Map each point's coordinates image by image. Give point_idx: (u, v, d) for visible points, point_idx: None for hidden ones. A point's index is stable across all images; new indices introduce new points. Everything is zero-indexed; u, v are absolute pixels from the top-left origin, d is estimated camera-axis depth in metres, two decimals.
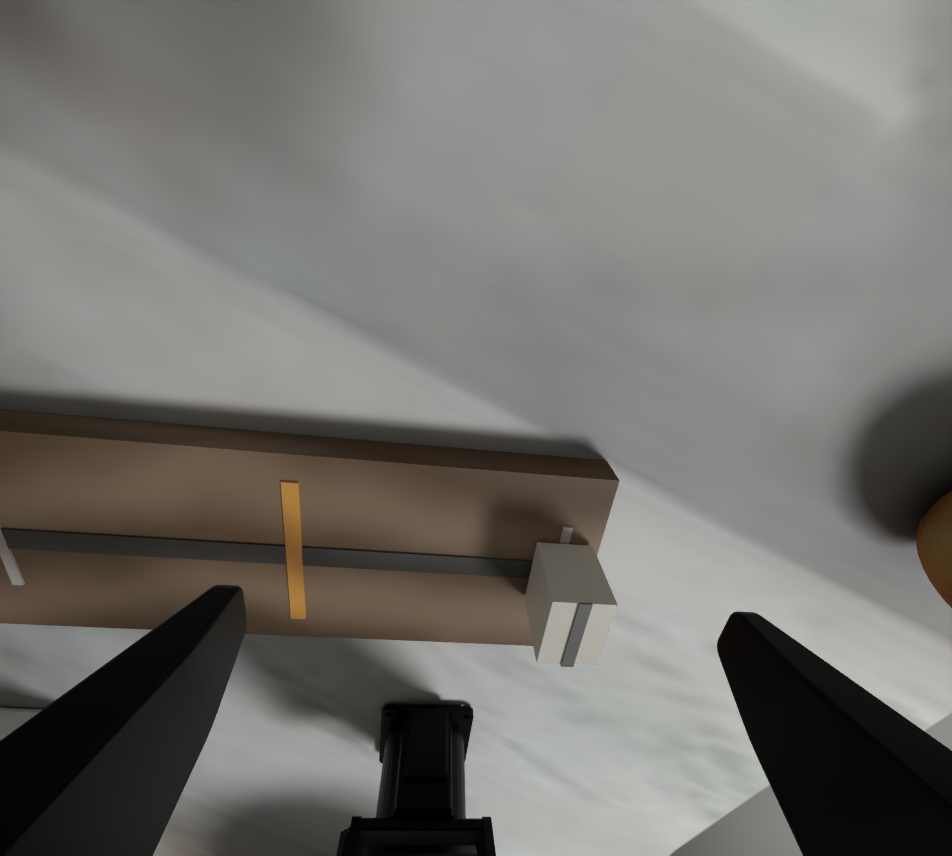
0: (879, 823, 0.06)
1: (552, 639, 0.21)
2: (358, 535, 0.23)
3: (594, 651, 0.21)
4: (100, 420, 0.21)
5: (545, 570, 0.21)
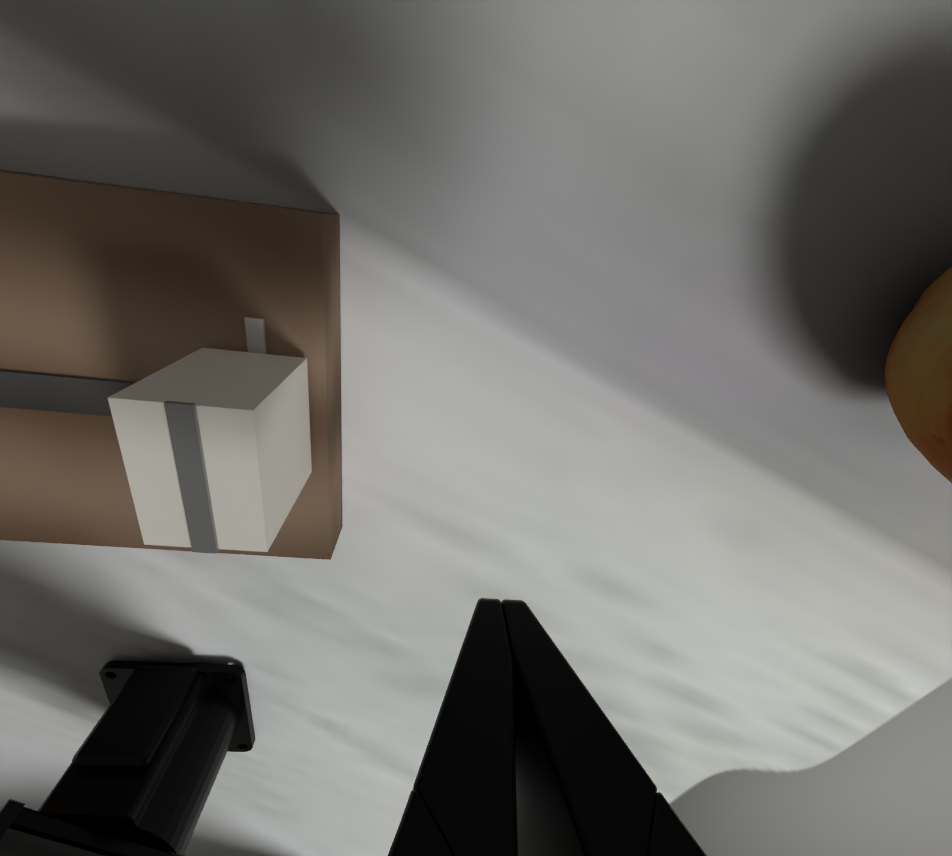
0: (543, 822, 0.05)
1: (151, 491, 0.11)
2: None
3: (250, 520, 0.11)
4: None
5: (163, 369, 0.11)
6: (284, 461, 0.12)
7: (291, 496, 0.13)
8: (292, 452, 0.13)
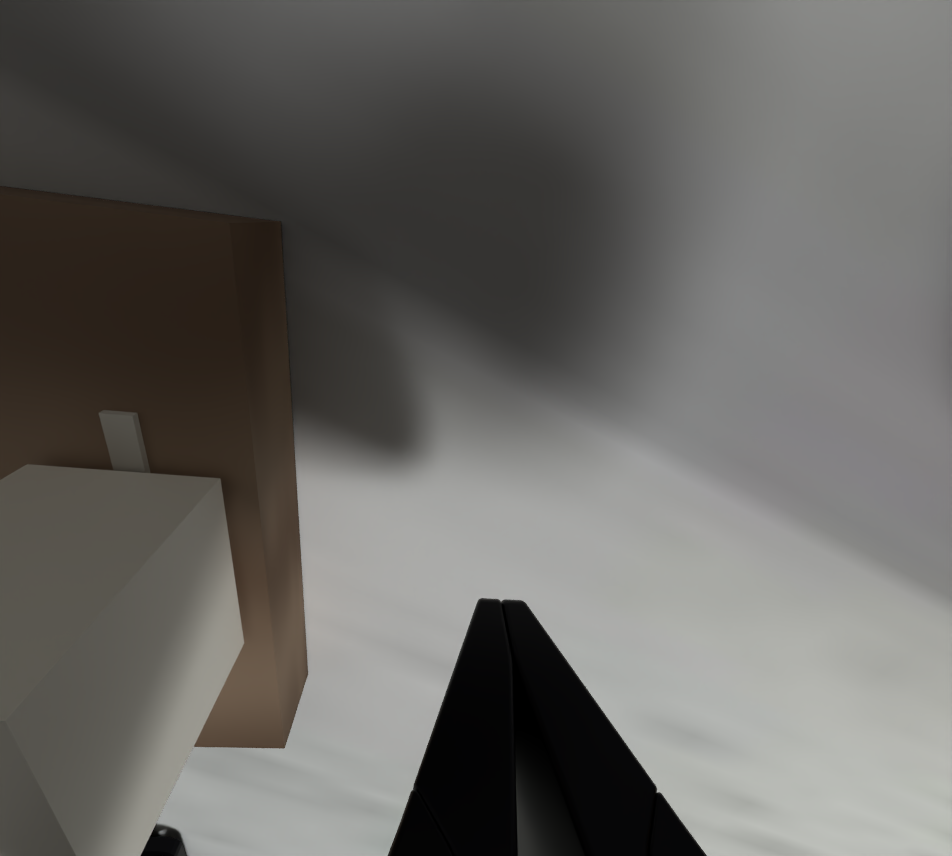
0: (542, 822, 0.05)
1: None
2: None
3: None
4: None
5: None
6: (160, 701, 0.06)
7: (187, 735, 0.07)
8: (186, 663, 0.07)
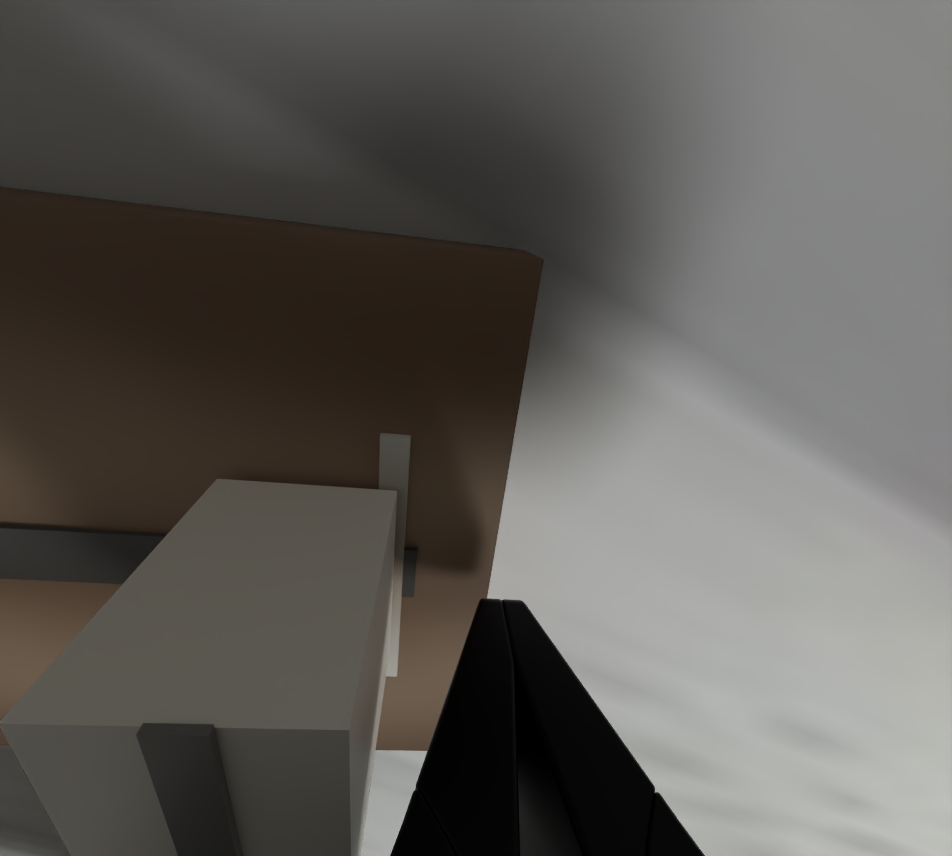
0: (541, 822, 0.05)
1: None
2: None
3: None
4: None
5: (144, 564, 0.06)
6: (373, 708, 0.07)
7: (375, 740, 0.07)
8: (379, 670, 0.07)
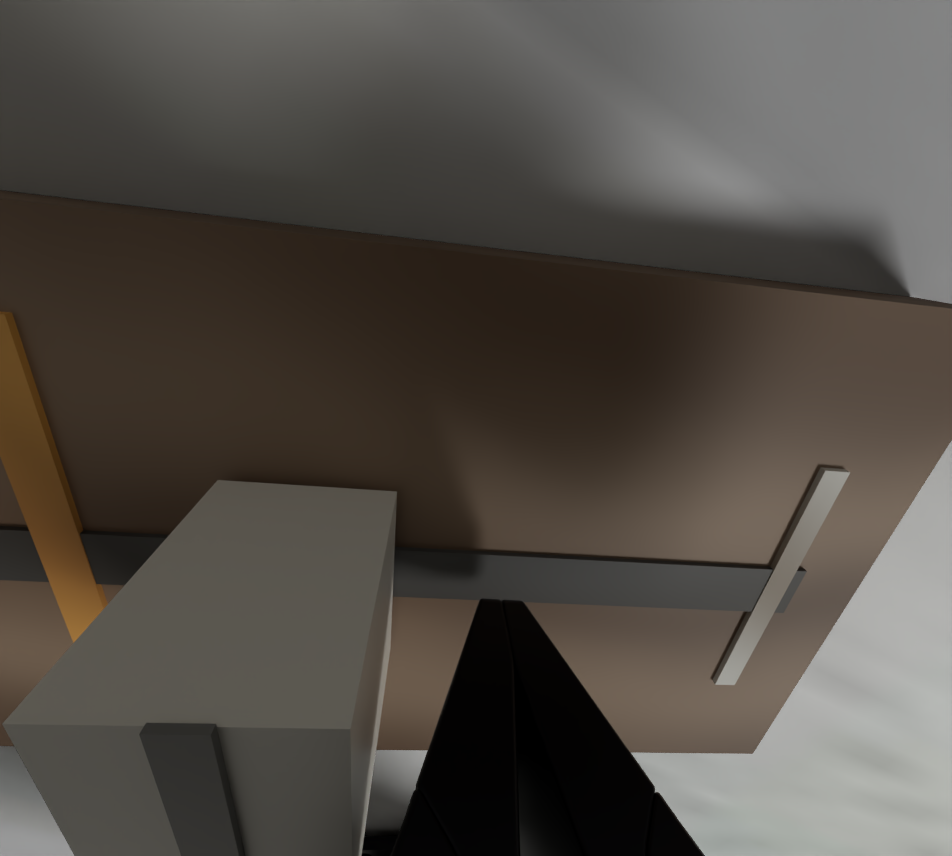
0: (541, 822, 0.05)
1: None
2: None
3: None
4: None
5: (145, 566, 0.06)
6: (374, 706, 0.07)
7: (376, 740, 0.07)
8: (380, 670, 0.07)
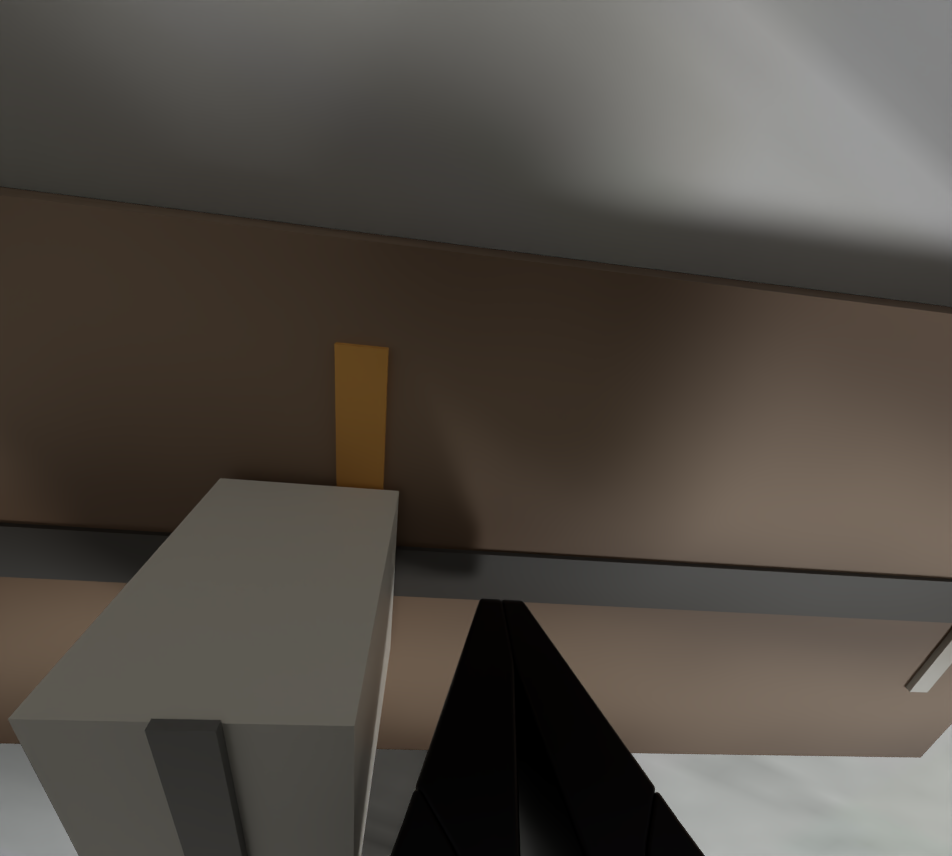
0: (541, 822, 0.05)
1: (121, 852, 0.05)
2: (534, 515, 0.08)
3: None
4: None
5: (149, 563, 0.06)
6: (375, 705, 0.07)
7: (375, 738, 0.07)
8: (381, 668, 0.07)
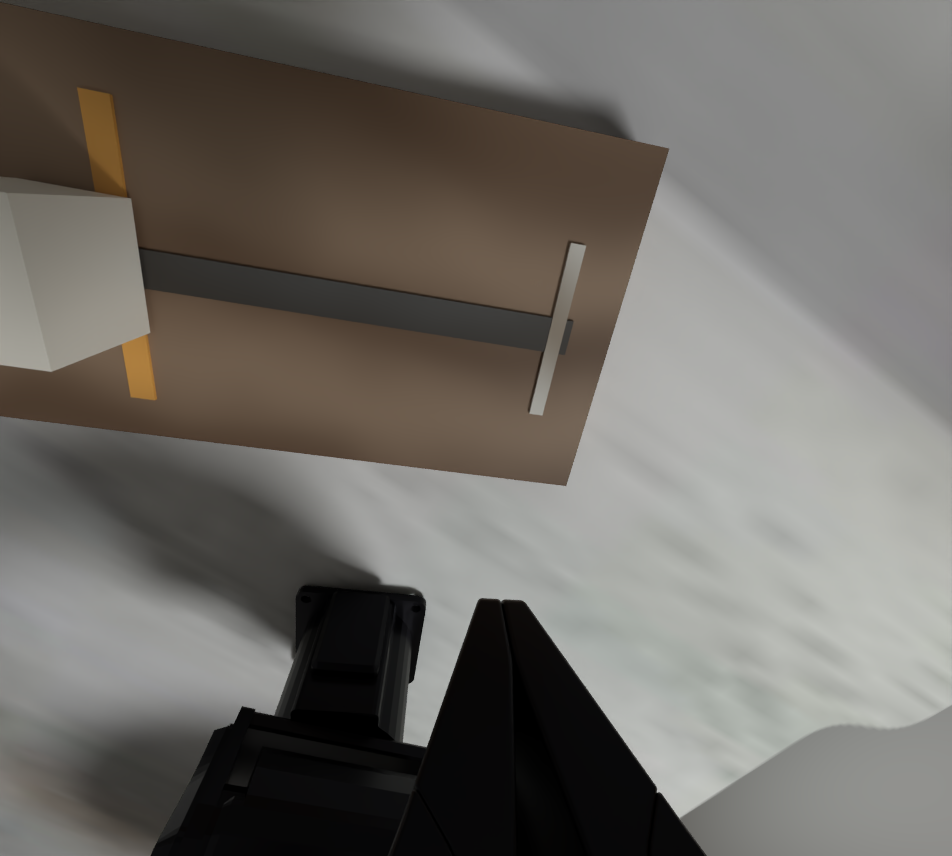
0: (542, 822, 0.05)
1: None
2: (229, 231, 0.14)
3: (26, 331, 0.11)
4: None
5: None
6: (86, 289, 0.12)
7: (103, 336, 0.13)
8: (103, 287, 0.12)
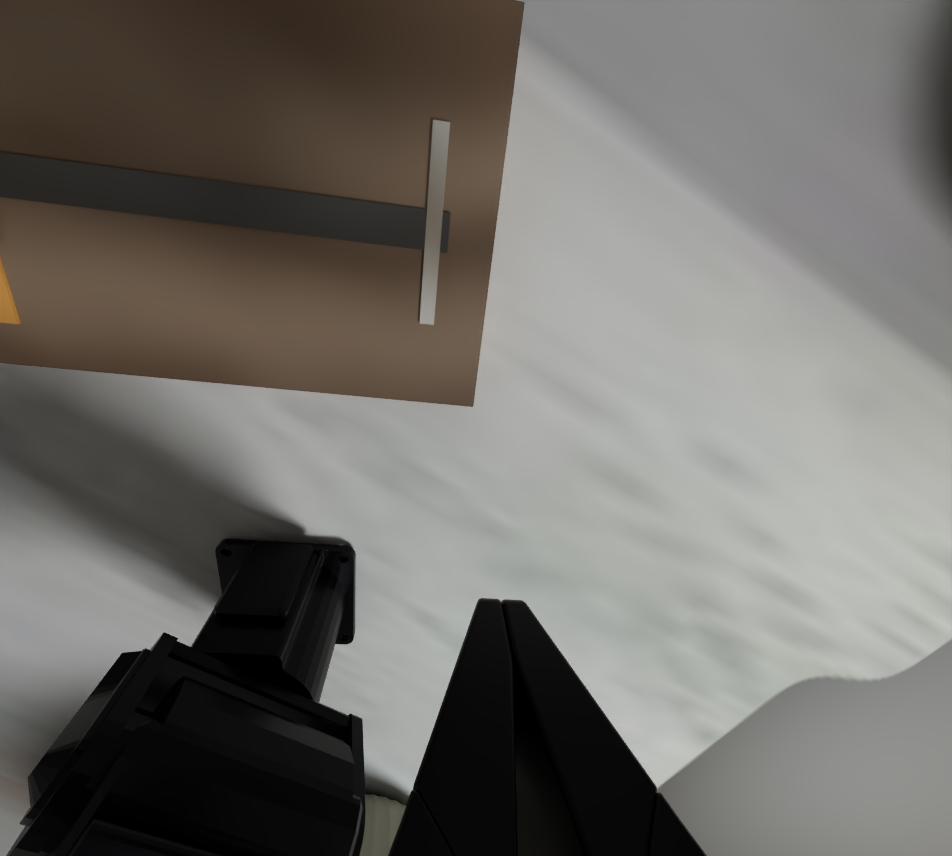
0: (542, 822, 0.05)
1: None
2: (63, 124, 0.13)
3: None
4: None
5: None
6: None
7: None
8: None
